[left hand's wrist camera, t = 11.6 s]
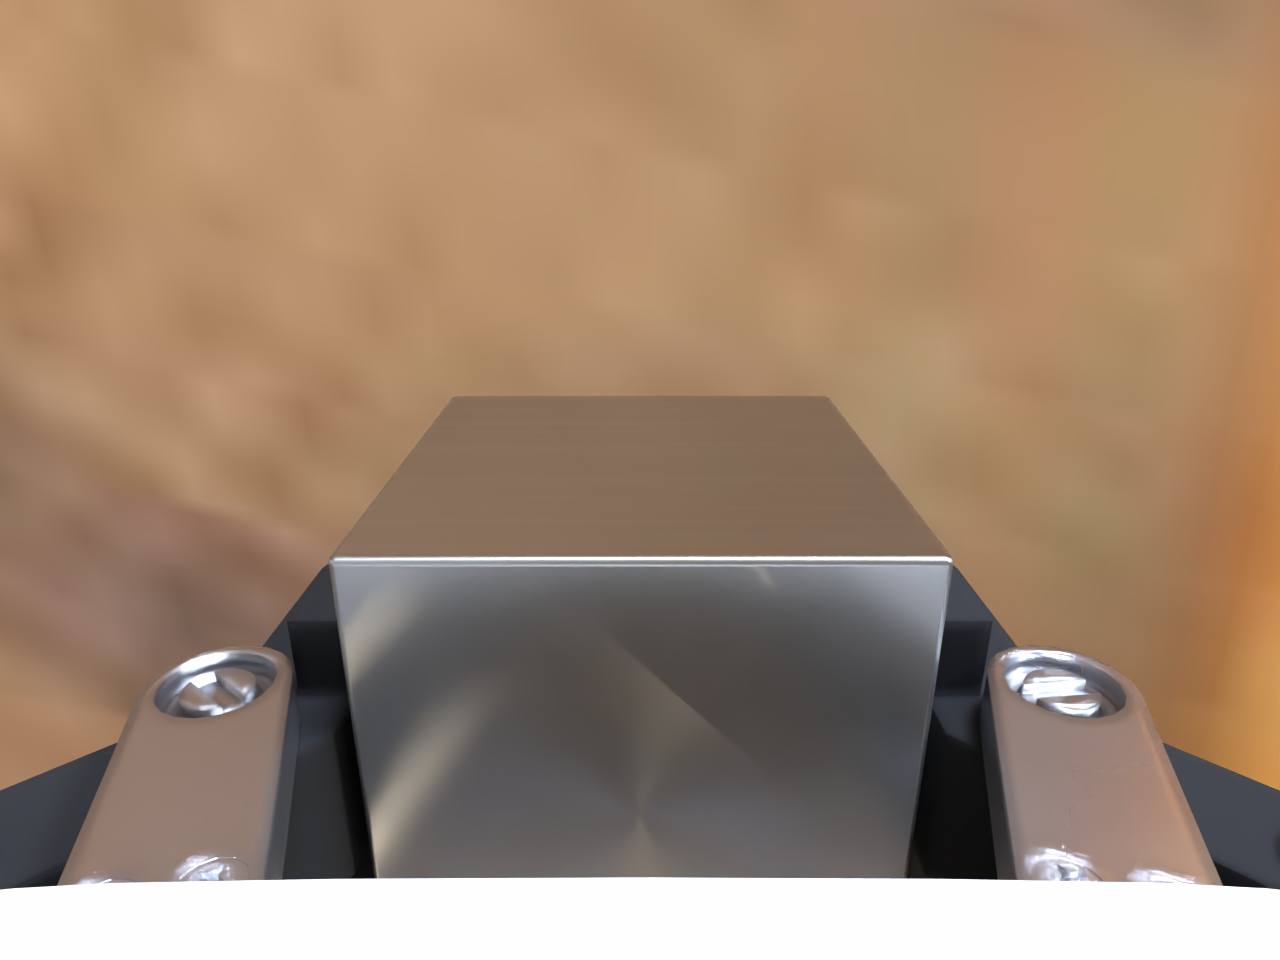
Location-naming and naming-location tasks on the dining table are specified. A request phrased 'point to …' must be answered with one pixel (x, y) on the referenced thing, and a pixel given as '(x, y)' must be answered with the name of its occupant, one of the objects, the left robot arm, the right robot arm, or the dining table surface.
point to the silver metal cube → (640, 644)
